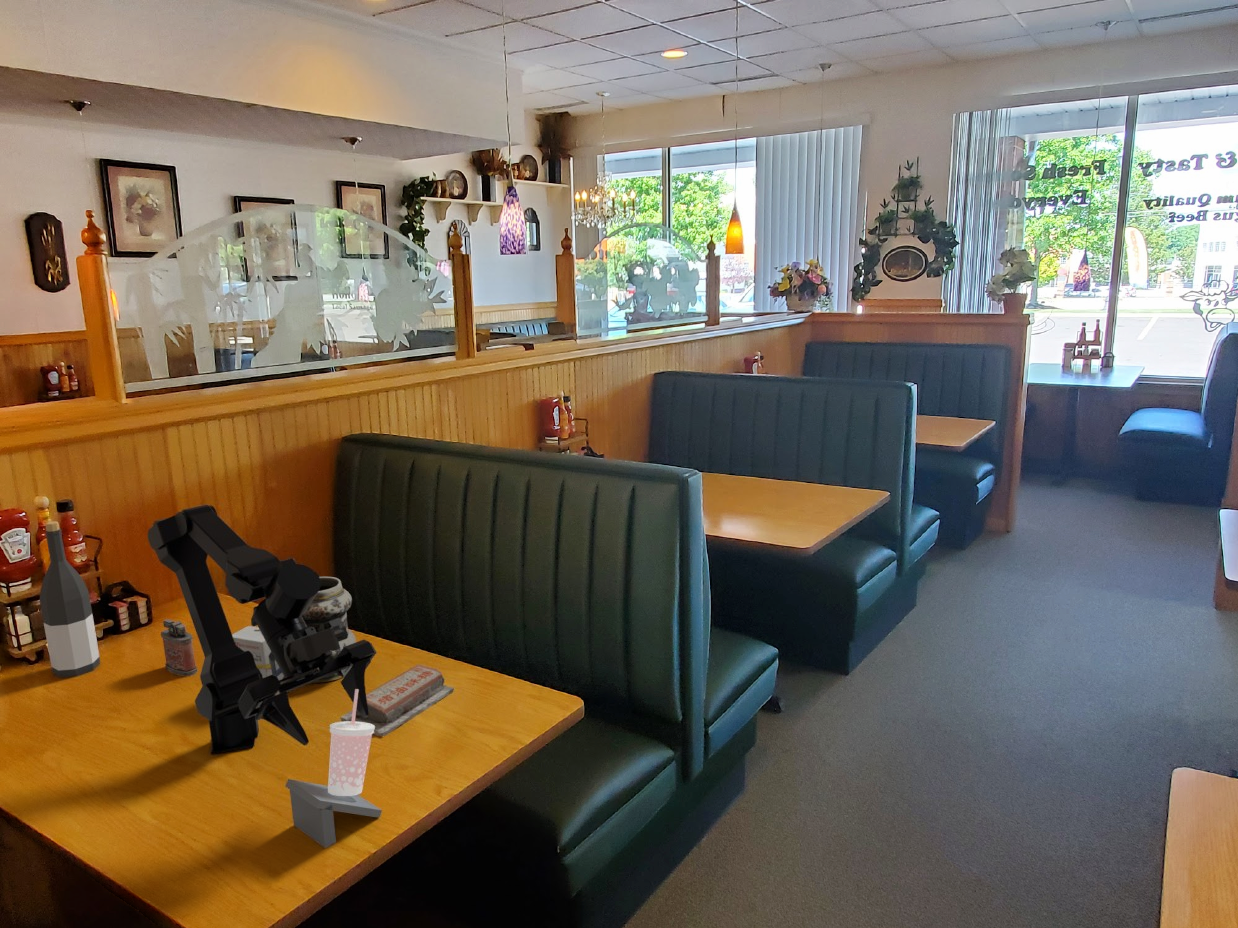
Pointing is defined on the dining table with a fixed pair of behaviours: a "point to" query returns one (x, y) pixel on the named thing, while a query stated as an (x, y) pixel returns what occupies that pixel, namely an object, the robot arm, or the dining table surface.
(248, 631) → the ink box
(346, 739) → the beverage cup
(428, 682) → the packaged product
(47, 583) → the wine bottle
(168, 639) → the lighter
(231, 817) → the dining table surface
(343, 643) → the apothecary jar
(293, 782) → the ramp
